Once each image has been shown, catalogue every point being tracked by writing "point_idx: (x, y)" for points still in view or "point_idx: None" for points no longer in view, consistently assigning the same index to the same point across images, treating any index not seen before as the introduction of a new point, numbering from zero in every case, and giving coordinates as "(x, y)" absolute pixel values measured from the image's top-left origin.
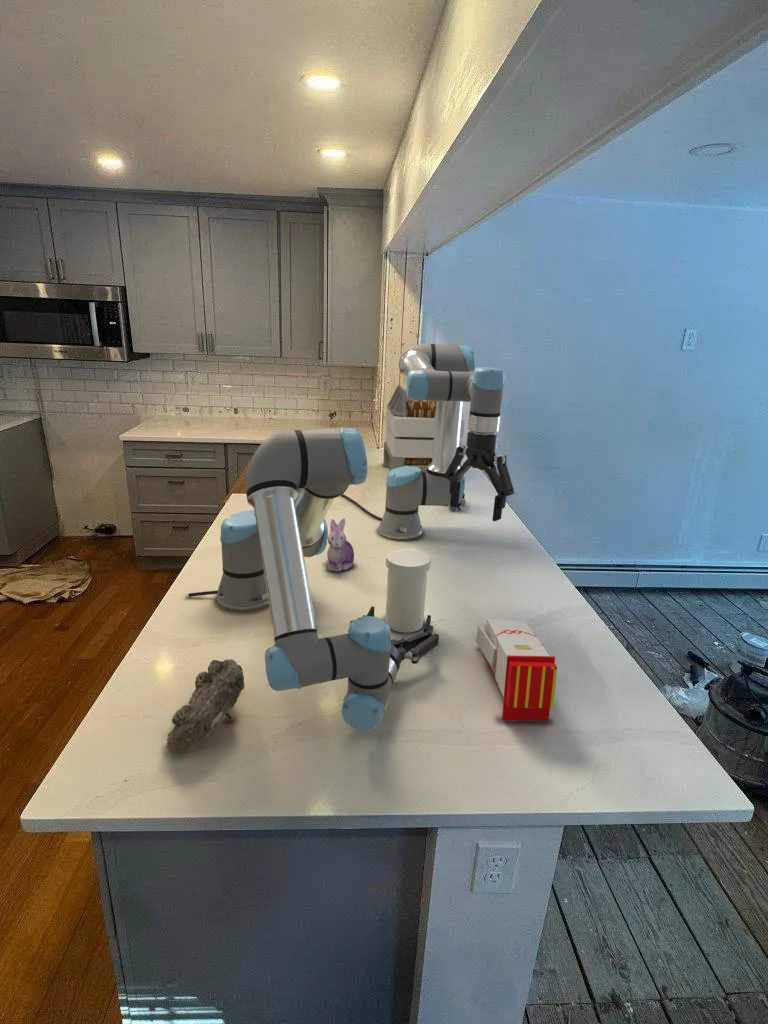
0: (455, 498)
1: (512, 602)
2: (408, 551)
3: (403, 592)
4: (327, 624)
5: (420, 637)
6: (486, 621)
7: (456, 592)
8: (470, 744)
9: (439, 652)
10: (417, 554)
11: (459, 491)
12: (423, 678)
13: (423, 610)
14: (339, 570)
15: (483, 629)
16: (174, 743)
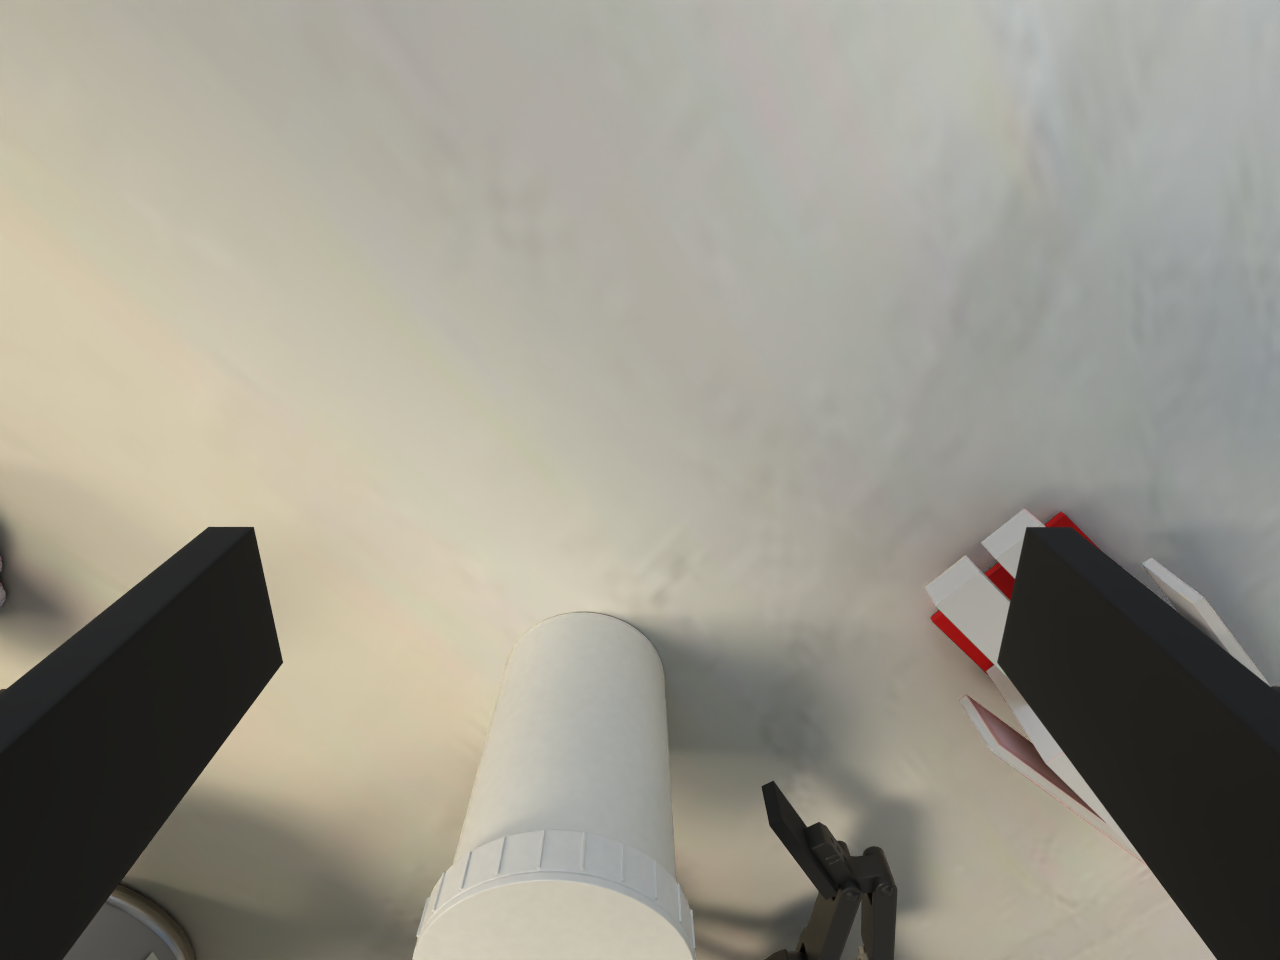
0: (199, 693)
1: (841, 120)
2: (488, 937)
3: None
4: (415, 865)
5: (848, 932)
6: (945, 599)
7: (542, 287)
8: (1114, 930)
9: (820, 725)
10: (561, 930)
11: (91, 677)
12: (865, 846)
13: (660, 704)
14: (2, 595)
15: (925, 589)
16: None
